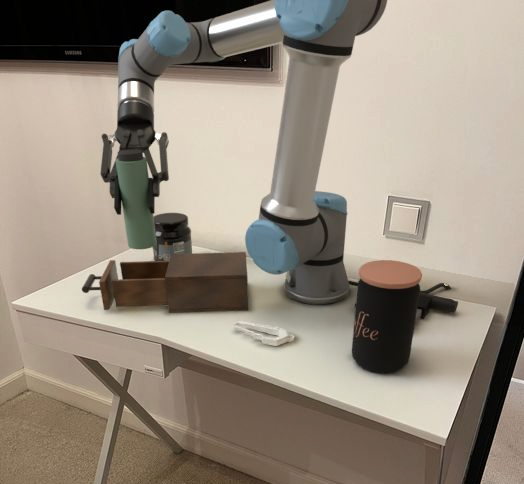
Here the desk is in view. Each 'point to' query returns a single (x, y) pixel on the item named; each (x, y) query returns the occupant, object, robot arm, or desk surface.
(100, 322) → the desk surface
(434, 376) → the desk surface
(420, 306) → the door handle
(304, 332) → the desk surface
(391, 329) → the coffee jar
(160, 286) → the drawer
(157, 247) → the supplement container
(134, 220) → the bottle
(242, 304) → the cabinet
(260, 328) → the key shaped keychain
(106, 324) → the desk surface
